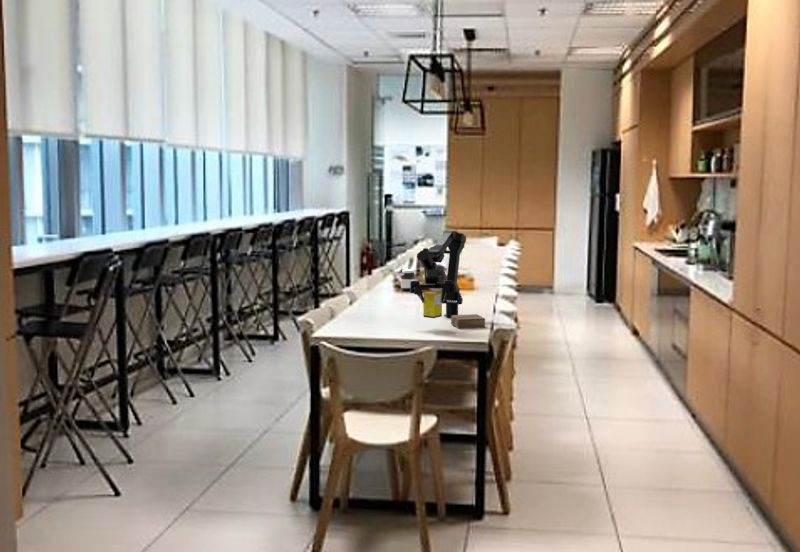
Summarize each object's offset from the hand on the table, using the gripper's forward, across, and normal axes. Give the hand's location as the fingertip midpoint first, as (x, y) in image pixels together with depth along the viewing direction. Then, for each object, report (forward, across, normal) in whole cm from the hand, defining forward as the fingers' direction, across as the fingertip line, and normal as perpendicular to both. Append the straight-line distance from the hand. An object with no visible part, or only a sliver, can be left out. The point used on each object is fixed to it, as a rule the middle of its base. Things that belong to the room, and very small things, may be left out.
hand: (432, 302), depth 396 cm
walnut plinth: (+3, +16, +14) cm, 22 cm away
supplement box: (+4, 0, +6) cm, 7 cm away
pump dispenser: (-74, +12, +93) cm, 119 cm away
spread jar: (-81, -3, +100) cm, 128 cm away
